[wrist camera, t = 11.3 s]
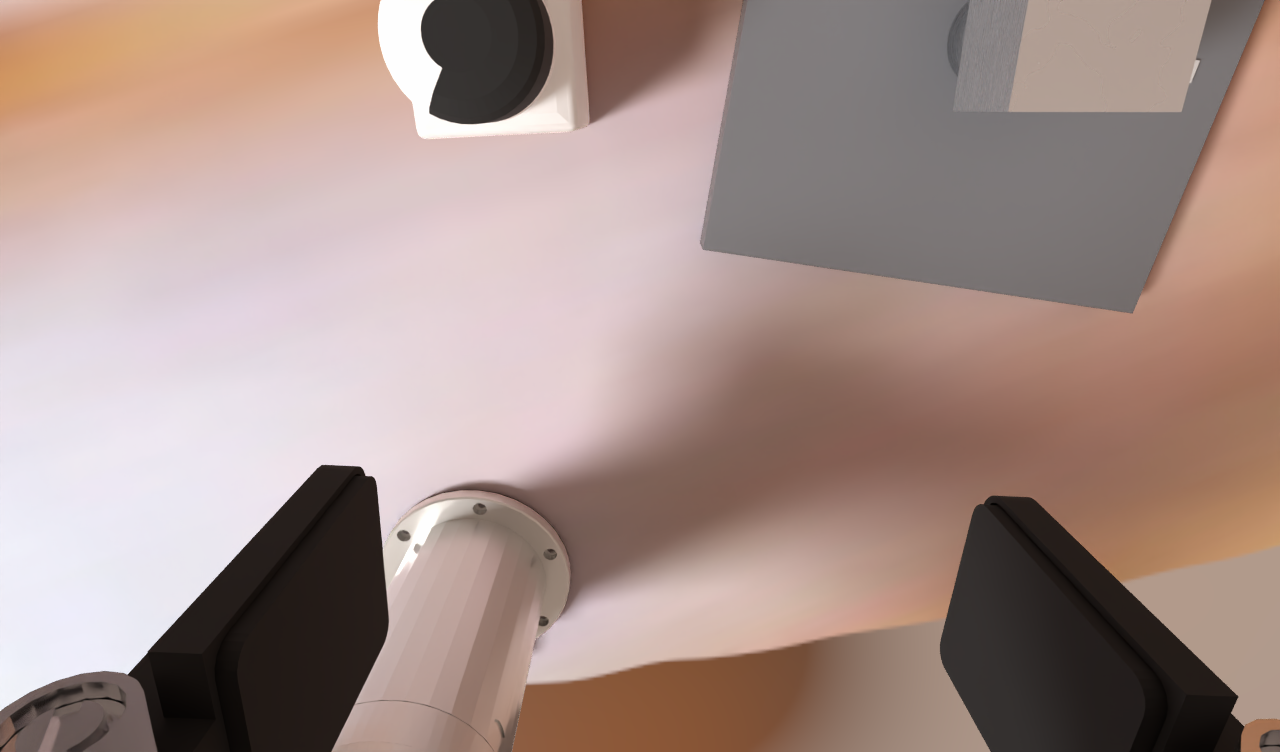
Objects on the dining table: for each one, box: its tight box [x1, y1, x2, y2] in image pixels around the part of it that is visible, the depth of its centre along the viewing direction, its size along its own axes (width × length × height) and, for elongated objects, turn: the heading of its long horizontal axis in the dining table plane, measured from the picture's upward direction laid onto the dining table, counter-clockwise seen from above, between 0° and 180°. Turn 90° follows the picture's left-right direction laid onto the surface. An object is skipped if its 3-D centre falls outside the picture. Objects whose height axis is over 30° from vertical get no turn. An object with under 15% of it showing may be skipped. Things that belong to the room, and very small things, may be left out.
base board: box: [700, 0, 1265, 313], centre depth 34 cm, size 24×24×2 cm
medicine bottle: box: [378, 0, 590, 139], centre depth 30 cm, size 7×7×12 cm
